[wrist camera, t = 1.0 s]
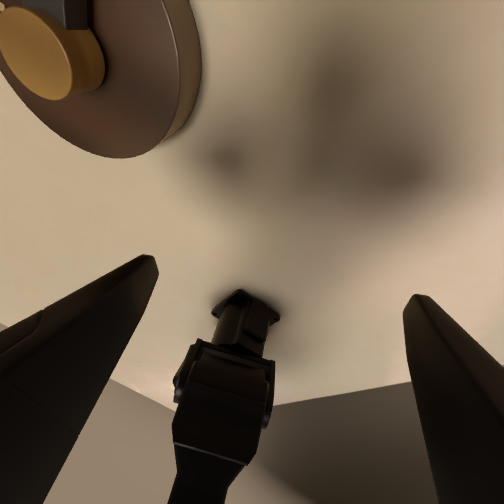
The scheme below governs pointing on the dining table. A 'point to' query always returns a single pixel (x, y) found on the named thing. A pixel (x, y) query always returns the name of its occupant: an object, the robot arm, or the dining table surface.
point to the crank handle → (52, 47)
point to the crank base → (127, 78)
